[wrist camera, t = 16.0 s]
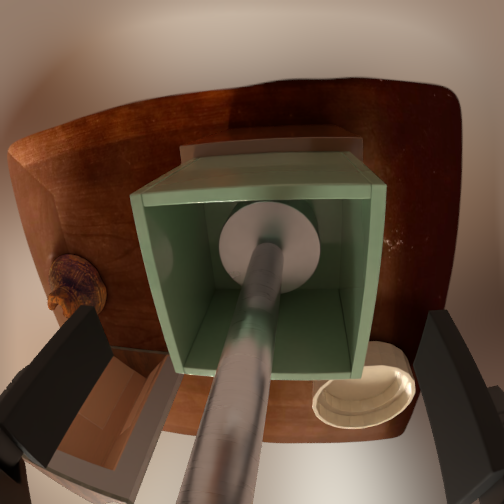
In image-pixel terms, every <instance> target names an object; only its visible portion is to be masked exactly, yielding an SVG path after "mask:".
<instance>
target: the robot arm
mask: <svg viewBox="0 0 504 504" xmlns="http://www.w3.org/2000/svg"><path fill="white" fill-rule="evenodd" d="M113 356H114V354H113V352H112V349H111V347H110V345H109V342H108V340H107V337H106V335H105V333H104V330H103V328H102V325H101V323H100V320H99V317H98V315H97V312H96V310H95V307H94V306H87V305H80V306H79V308H78V309H77V310H76V311H75V312H74V313H73V314H72V315H71V316H70V318H69V319H68V320H67V321H66V322H65V323H64V324H63V325H62V327H61V328H60V329H59V330H58V331H57V332H56V334H55V335H54V336H53V337H52V338H51V339H50V340H49V342H48V343H47V344H46V345H45V346H44V348H43V349H42V350H41V351H40V352H39V353H38V355H37V356H36V357H35V358H34V359H33V361H32V362H31V363H30V365H27V366H26V367H25V368H23V369H22V370H21V371H19V372H18V374H17V375H16V376H15V377H14V379H13V380H12V383H10V384H9V385H8V386H7V389H6V390H4V391H3V393H2V394H1V395H0V504H31V499H30V493H29V487H28V481H27V474H26V467H25V462H24V459H23V458H22V455H23V453H24V454H25V455H26V456H27V457H28V458H29V459H30V460H31V461H32V462H34V463H36V464H37V465H39V466H41V467H43V468H45V469H46V468H47V466H48V464H49V462H50V460H51V459H52V457H53V455H54V453H55V452H56V450H57V448H58V446H59V445H60V443H61V441H62V439H63V438H64V436H65V434H66V432H67V431H68V429H69V427H70V426H71V424H72V422H73V420H74V419H75V417H76V415H77V414H78V412H79V410H80V409H81V407H82V405H83V404H84V402H85V400H86V399H87V397H88V396H89V394H90V392H91V391H92V389H93V387H94V386H95V384H96V383H97V381H98V379H99V378H100V376H101V375H102V373H103V372H104V370H105V368H106V367H107V365H108V364H109V362H110V361H111V359H112V357H113ZM413 367H414V370H415V373H416V376H417V379H418V383H419V386H420V389H421V393H422V396H423V399H424V403H425V406H426V410H427V414H428V417H429V421H430V425H431V429H432V433H433V437H434V441H435V445H436V449H437V454H438V458H439V463H440V467H441V472H442V477H443V482H444V487H445V493H446V499H447V504H471V503H473V502H474V501H475V500H477V498H479V501H480V504H504V392H503V391H502V390H501V389H500V388H499V387H498V385H497V386H493V387H489V388H487V387H486V384H485V382H484V380H483V378H482V376H481V374H480V372H479V370H478V368H477V365H476V363H475V361H474V359H473V357H472V355H471V353H470V351H469V349H468V348H467V346H466V344H465V342H464V340H463V338H462V336H461V334H460V332H459V331H458V329H457V327H456V325H455V323H454V322H453V320H452V318H451V316H450V314H449V313H448V311H447V310H434V311H429V313H428V317H427V320H426V324H425V328H424V331H423V335H422V338H421V341H420V345H419V348H418V351H417V354H416V357H415V360H414V363H413Z"/></svg>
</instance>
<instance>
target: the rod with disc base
mask: <svg viewBox="0 0 504 504" xmlns="http://www.w3.org/2000/svg"><path fill="white" fill-rule="evenodd" d="M218 250H219V256H220V259H221V262H222V265H223V266H224V268H225V270H226V271H227V273H228V274H229V275H230V277H231V278H232V279H233V280H234V281H236V282H237V283H238V284H239V285H241V286H242V288H241V291H240V294H239V298H238V301H237V304H236V308H235V311H234V314H233V317H232V321H231V324H230V327H229V331H228V334H227V337H226V340H225V344H224V347H223V350H222V354H221V357H220V360H219V363H218V367H217V370H216V373H215V377H214V380H213V383H212V386H211V390H210V393H209V396H208V400H207V403H206V406H205V409H204V413H203V416H202V419H201V423H200V426H199V429H198V432H197V436H196V439H195V442H194V446H193V449H192V452H191V456H190V459H189V462H188V465H187V469H186V472H185V475H184V478H183V482H182V485H181V489H180V492H179V495H178V498H177V501H176V504H253V498H254V491H255V485H256V479H257V472H258V466H259V459H260V452H261V446H262V439H263V432H264V425H265V417H266V410H267V403H268V395H269V387H270V379H271V372H272V363H273V355H274V347H275V338H276V330H277V321H278V312H279V303H280V294H282V293H287V292H290V291H292V290H295V289H297V288H298V287H300V286H302V285H303V284H304V283H306V282H307V281H308V280H309V279H310V278H311V276H312V275H313V274H314V272H315V270H316V269H317V266H318V264H319V261H320V257H321V242H320V235H319V229H318V223H317V219H316V217H315V214H314V212H313V210H312V209H311V207H310V206H309V205H308V204H307V203H306V202H305V201H304V200H303V199H293V200H257V201H239V202H238V203H237V204H236V206H235V207H234V209H233V210H232V212H231V214H230V215H229V217H228V219H227V220H226V222H225V224H224V225H223V227H222V230H221V232H220V236H219V241H218Z"/></svg>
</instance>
